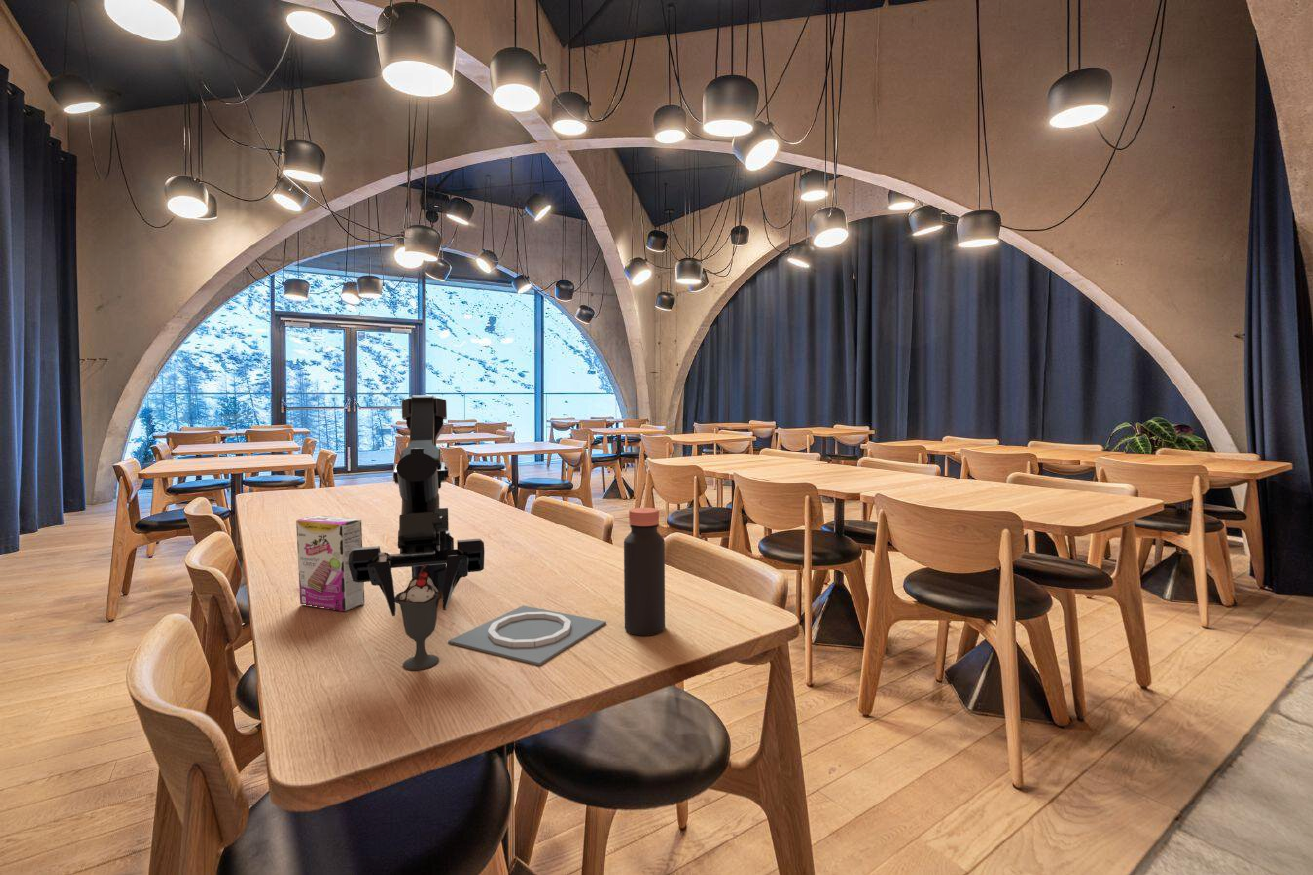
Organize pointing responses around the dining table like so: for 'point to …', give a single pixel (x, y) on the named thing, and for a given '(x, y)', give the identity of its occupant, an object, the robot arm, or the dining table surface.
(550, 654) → the ring mat
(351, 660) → the dining table surface
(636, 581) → the bottle
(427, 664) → the sundae
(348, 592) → the candy bar box
